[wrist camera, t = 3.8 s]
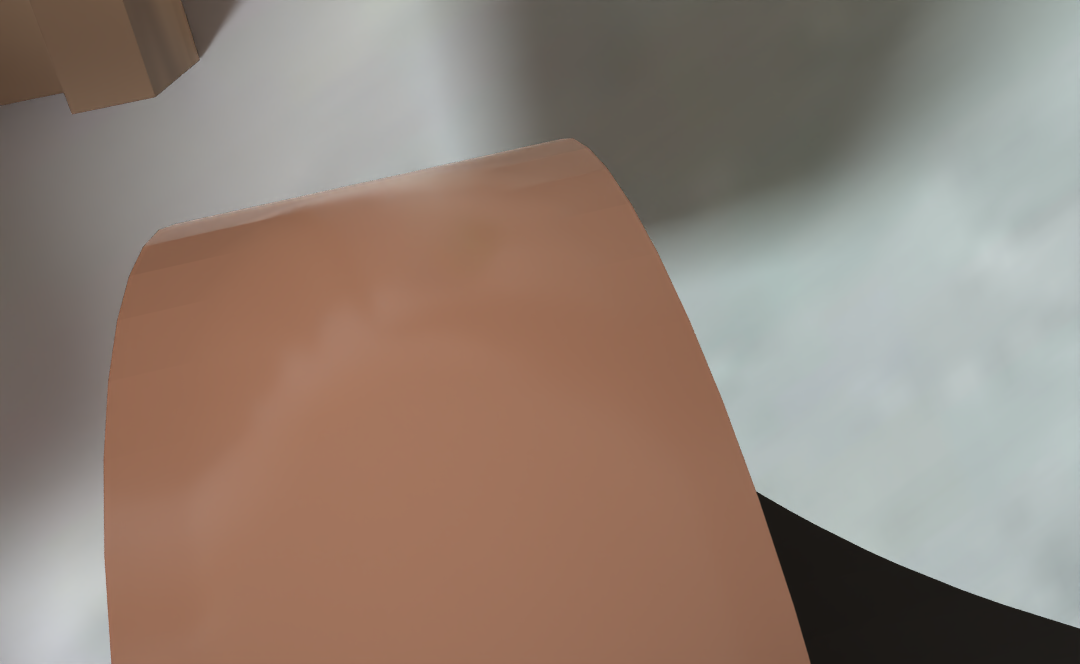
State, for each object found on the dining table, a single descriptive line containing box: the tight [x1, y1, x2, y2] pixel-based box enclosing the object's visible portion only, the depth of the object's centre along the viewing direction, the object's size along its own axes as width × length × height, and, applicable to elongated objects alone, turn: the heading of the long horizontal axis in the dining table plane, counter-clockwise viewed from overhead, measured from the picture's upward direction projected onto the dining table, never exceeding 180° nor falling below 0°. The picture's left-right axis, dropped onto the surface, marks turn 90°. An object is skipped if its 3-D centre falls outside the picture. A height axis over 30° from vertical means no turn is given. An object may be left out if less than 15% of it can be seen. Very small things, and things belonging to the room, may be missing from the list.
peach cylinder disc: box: [104, 138, 811, 664], centre depth 9 cm, size 9×4×9 cm, turn 10°
